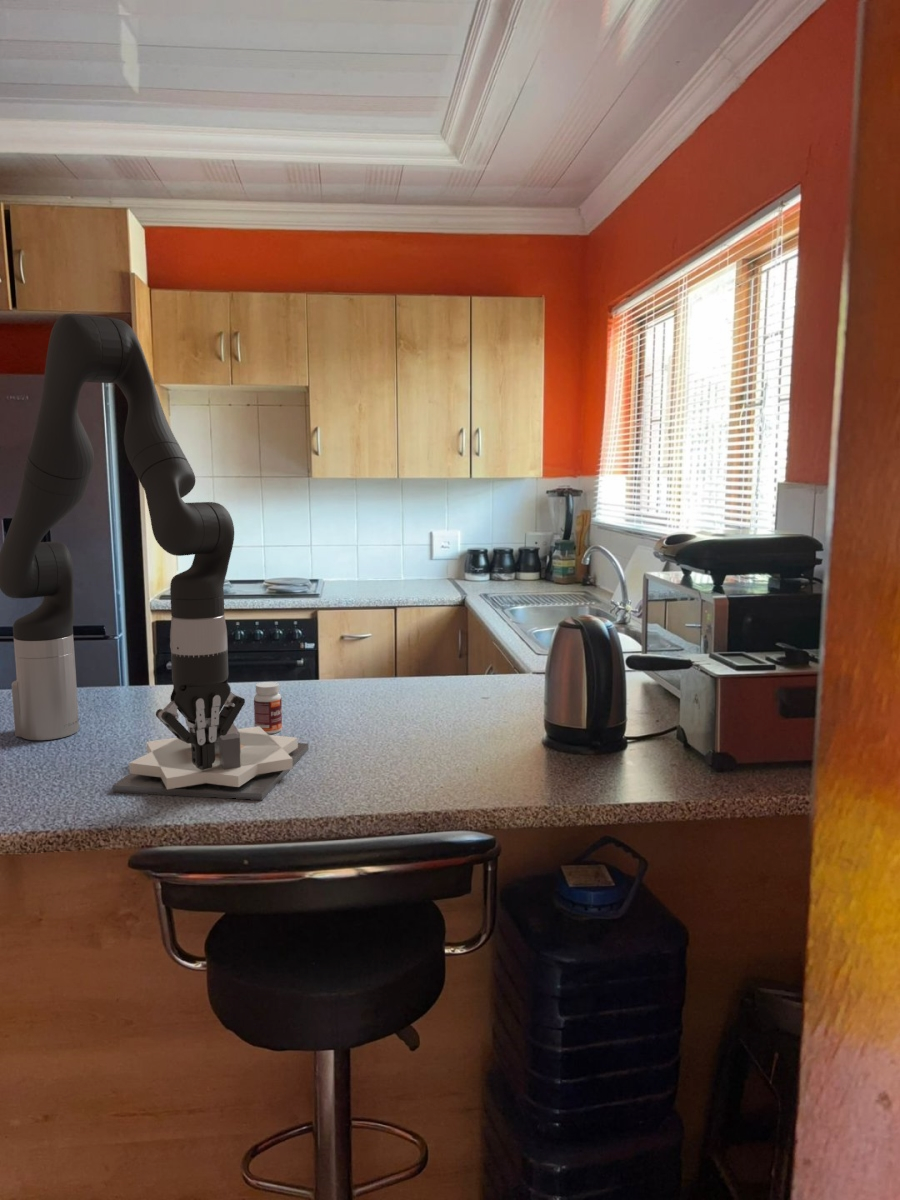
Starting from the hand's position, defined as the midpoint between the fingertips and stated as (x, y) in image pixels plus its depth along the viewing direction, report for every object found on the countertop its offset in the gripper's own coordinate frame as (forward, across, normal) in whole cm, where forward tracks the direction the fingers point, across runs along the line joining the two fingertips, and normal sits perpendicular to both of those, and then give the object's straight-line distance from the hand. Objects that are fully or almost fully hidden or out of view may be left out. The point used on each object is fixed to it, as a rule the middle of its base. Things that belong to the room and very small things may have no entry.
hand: (204, 767), depth 118 cm
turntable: (+2, +6, +8) cm, 10 cm away
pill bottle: (+4, +23, +19) cm, 30 cm away
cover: (+1, +6, +8) cm, 10 cm away
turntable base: (+4, +6, +8) cm, 11 cm away
